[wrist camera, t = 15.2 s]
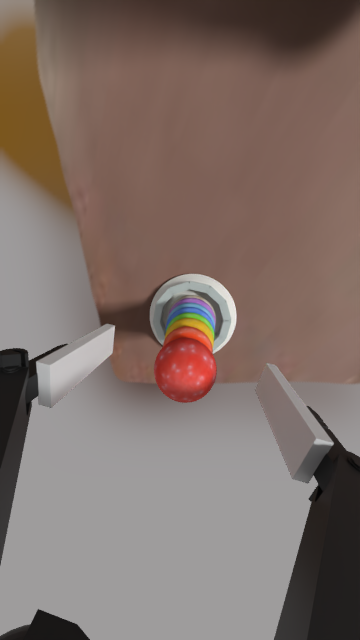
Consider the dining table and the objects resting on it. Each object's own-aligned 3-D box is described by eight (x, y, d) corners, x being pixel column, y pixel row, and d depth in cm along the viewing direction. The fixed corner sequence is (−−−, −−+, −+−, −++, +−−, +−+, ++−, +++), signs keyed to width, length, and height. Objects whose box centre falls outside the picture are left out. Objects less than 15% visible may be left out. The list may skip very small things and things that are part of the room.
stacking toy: (167, 335, 31) (119, 418, 13) (171, 291, 29) (122, 319, 11) (210, 342, 30) (223, 440, 12) (218, 297, 28) (248, 338, 10)
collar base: (138, 289, 30) (132, 291, 28) (222, 261, 27) (224, 259, 25) (166, 364, 33) (163, 371, 31) (244, 345, 30) (248, 351, 28)
